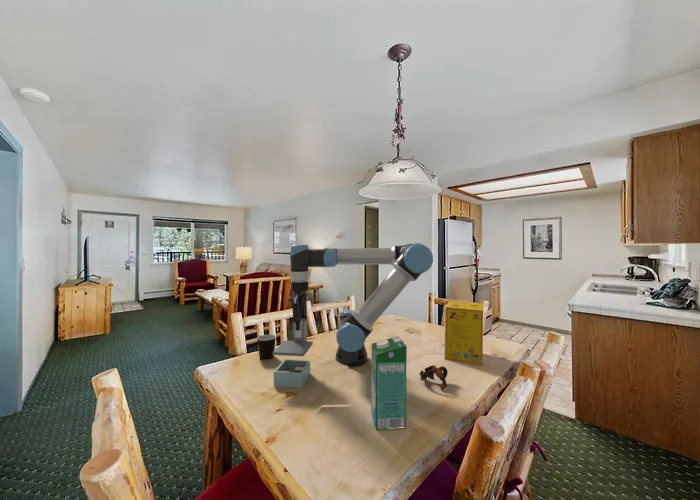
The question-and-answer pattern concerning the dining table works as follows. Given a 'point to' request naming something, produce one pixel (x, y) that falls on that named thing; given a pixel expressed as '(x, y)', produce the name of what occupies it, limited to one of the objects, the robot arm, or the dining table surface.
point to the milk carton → (388, 383)
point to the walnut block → (299, 368)
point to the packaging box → (464, 332)
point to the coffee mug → (266, 346)
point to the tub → (291, 373)
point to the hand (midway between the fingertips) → (300, 335)
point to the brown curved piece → (438, 371)
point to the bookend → (295, 344)
